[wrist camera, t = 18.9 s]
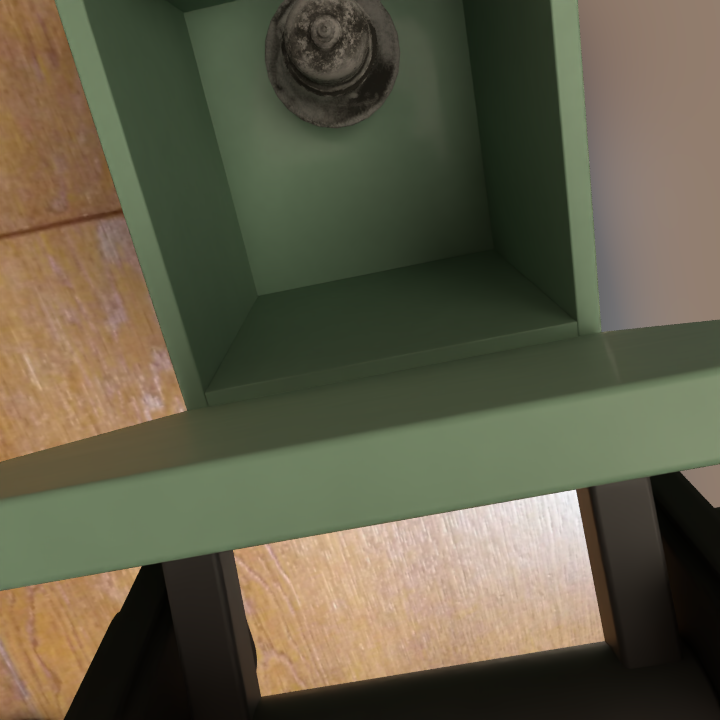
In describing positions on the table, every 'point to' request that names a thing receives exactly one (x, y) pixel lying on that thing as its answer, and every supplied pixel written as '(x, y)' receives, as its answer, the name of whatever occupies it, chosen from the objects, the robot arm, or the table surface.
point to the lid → (401, 514)
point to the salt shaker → (332, 59)
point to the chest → (345, 191)
